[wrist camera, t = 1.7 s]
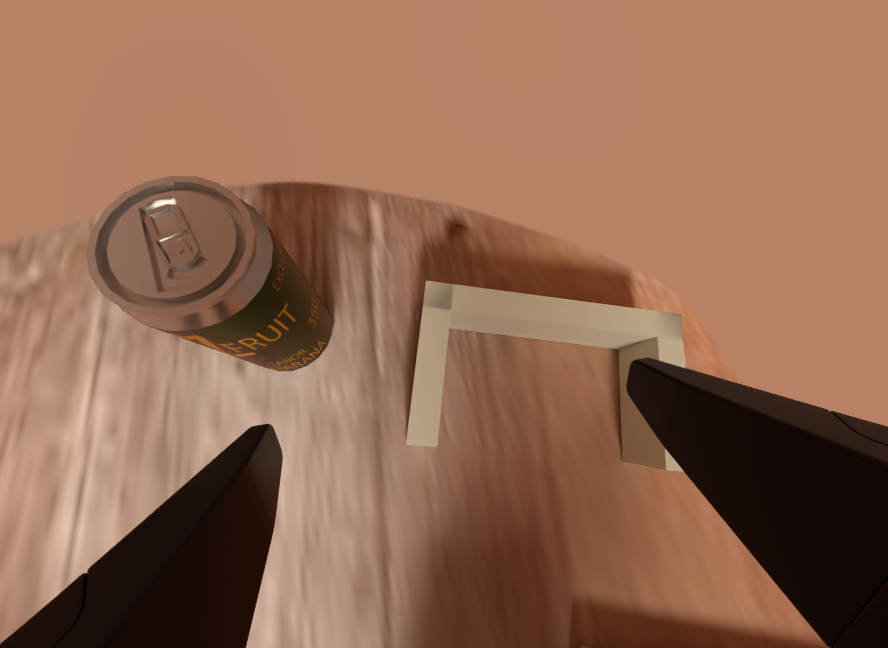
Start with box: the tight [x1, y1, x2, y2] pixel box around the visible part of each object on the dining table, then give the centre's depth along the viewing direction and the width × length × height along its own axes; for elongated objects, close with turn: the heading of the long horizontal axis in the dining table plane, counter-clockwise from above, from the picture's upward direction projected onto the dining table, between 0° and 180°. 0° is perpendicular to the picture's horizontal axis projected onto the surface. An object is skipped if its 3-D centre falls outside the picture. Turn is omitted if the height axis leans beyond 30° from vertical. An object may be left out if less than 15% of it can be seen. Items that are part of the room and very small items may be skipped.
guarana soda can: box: [86, 176, 332, 371], centre depth 17 cm, size 5×5×12 cm
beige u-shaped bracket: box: [406, 281, 685, 472], centre depth 22 cm, size 9×16×4 cm, turn 84°
